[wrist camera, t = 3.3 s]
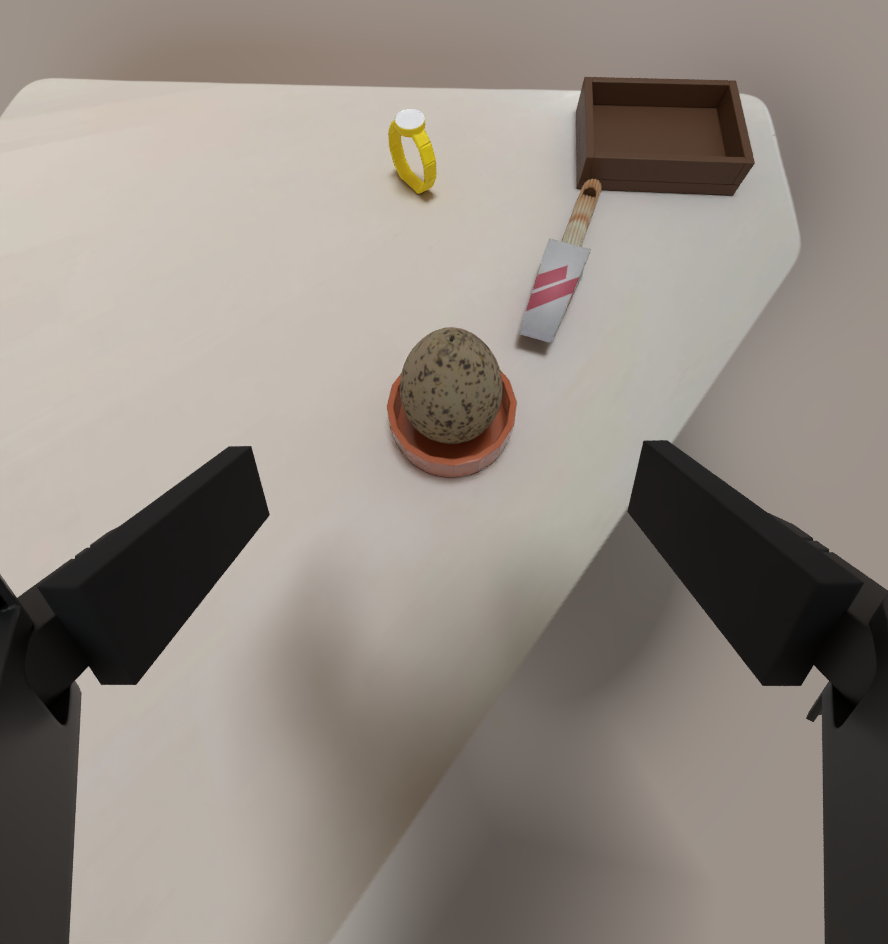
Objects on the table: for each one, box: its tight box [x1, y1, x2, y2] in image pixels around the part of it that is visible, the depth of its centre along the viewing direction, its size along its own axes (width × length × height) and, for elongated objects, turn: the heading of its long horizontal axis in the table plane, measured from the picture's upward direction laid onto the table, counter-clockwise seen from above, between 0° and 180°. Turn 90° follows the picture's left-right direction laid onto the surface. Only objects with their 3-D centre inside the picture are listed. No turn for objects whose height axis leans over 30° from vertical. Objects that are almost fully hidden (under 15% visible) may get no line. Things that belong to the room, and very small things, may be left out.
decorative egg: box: [400, 327, 503, 444], centre depth 26 cm, size 7×7×10 cm
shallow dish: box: [387, 370, 517, 477], centre depth 30 cm, size 10×10×3 cm
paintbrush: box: [519, 179, 601, 343], centre depth 35 cm, size 4×3×20 cm
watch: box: [388, 109, 436, 194], centre depth 37 cm, size 6×3×6 cm, turn 40°
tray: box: [576, 77, 755, 195], centre depth 39 cm, size 16×13×3 cm
